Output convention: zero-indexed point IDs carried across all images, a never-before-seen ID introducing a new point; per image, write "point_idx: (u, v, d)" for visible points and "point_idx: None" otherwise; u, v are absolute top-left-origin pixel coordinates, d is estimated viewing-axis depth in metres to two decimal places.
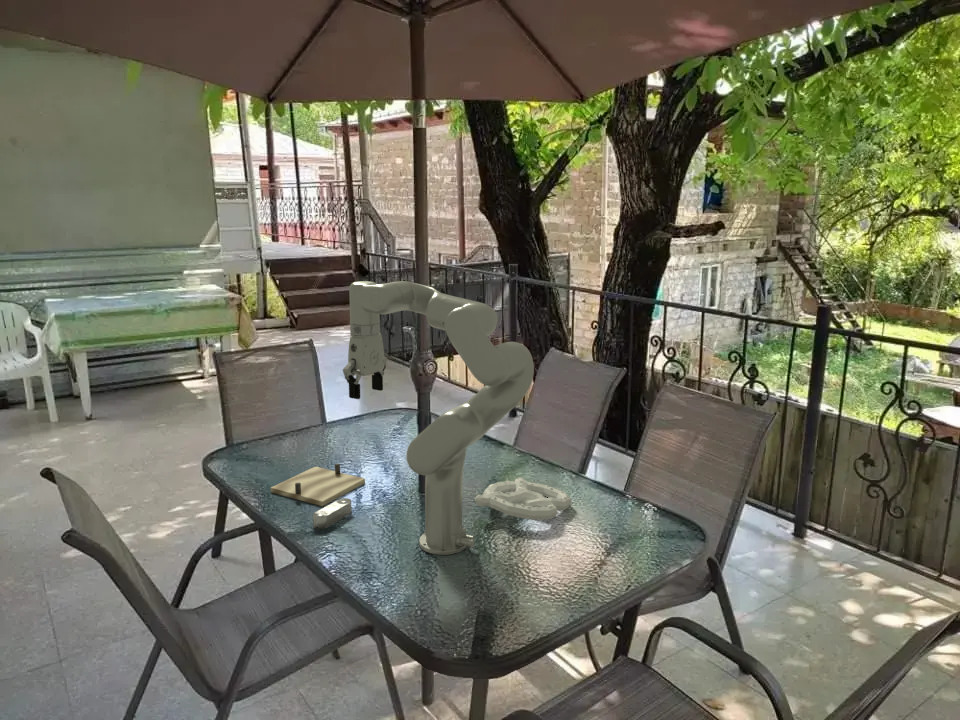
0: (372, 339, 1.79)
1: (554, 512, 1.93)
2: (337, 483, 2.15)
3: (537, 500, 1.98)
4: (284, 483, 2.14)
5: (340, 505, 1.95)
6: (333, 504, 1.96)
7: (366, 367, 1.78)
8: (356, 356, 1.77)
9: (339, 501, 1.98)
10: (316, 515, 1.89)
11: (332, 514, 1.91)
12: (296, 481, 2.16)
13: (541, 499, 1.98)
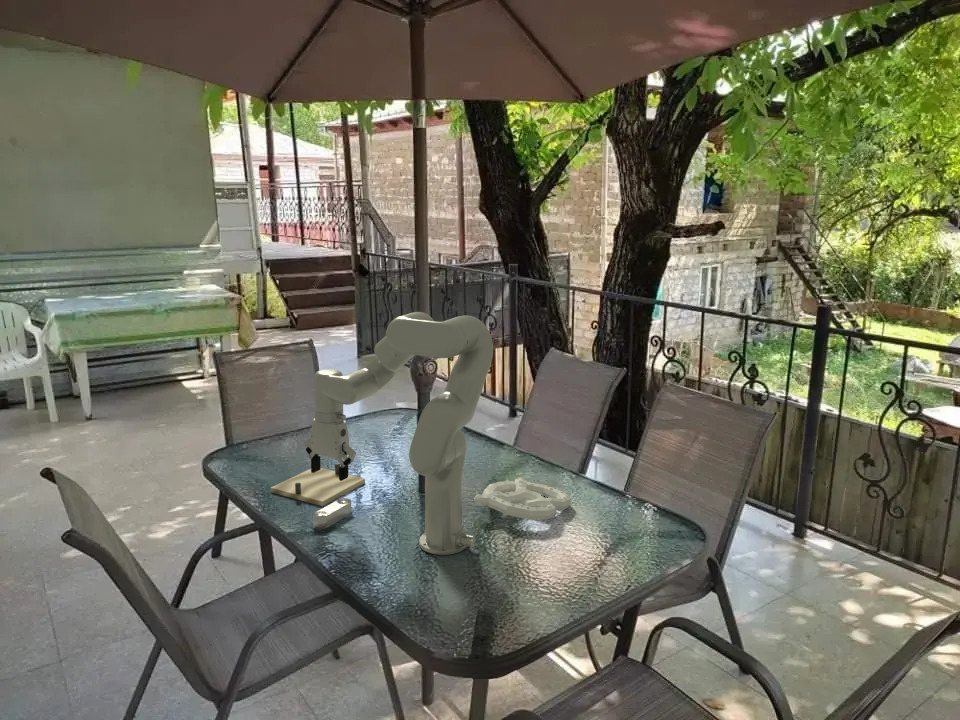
0: None
1: (553, 512, 1.92)
2: (337, 483, 2.15)
3: (536, 500, 1.98)
4: (284, 483, 2.14)
5: (340, 505, 1.95)
6: (333, 504, 1.96)
7: None
8: (346, 439, 1.88)
9: (339, 501, 1.98)
10: (316, 515, 1.89)
11: (332, 514, 1.91)
12: (296, 481, 2.16)
13: (540, 499, 1.98)
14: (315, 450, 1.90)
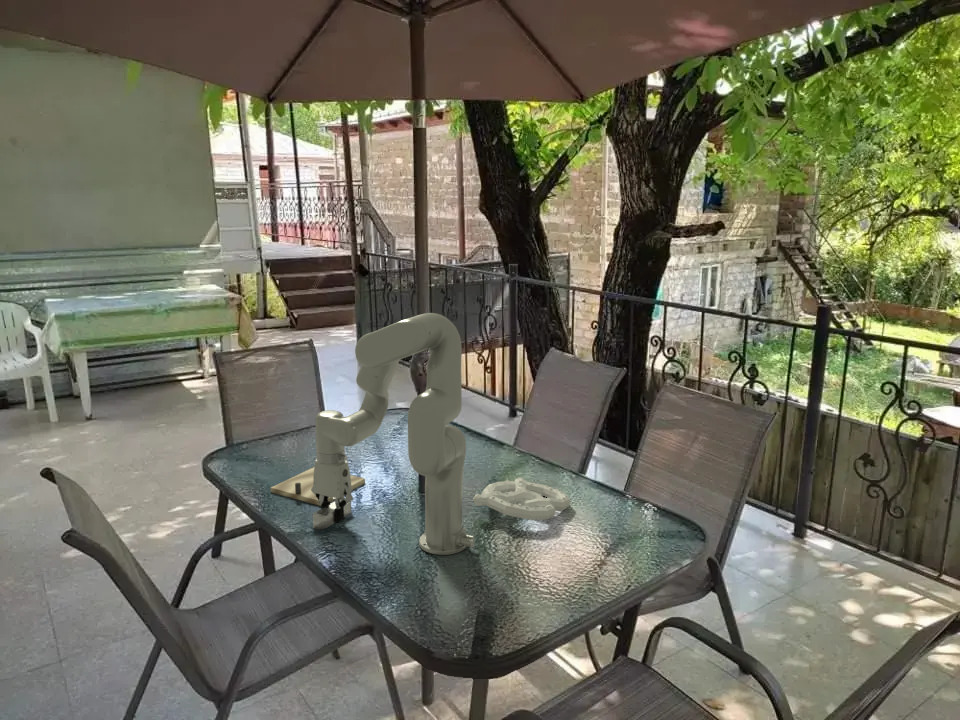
0: None
1: (552, 512, 1.92)
2: None
3: (535, 500, 1.98)
4: (284, 483, 2.14)
5: None
6: (333, 504, 1.96)
7: None
8: (348, 479, 1.90)
9: None
10: (316, 515, 1.89)
11: (332, 514, 1.91)
12: (296, 481, 2.16)
13: (539, 499, 1.98)
14: (318, 490, 1.92)
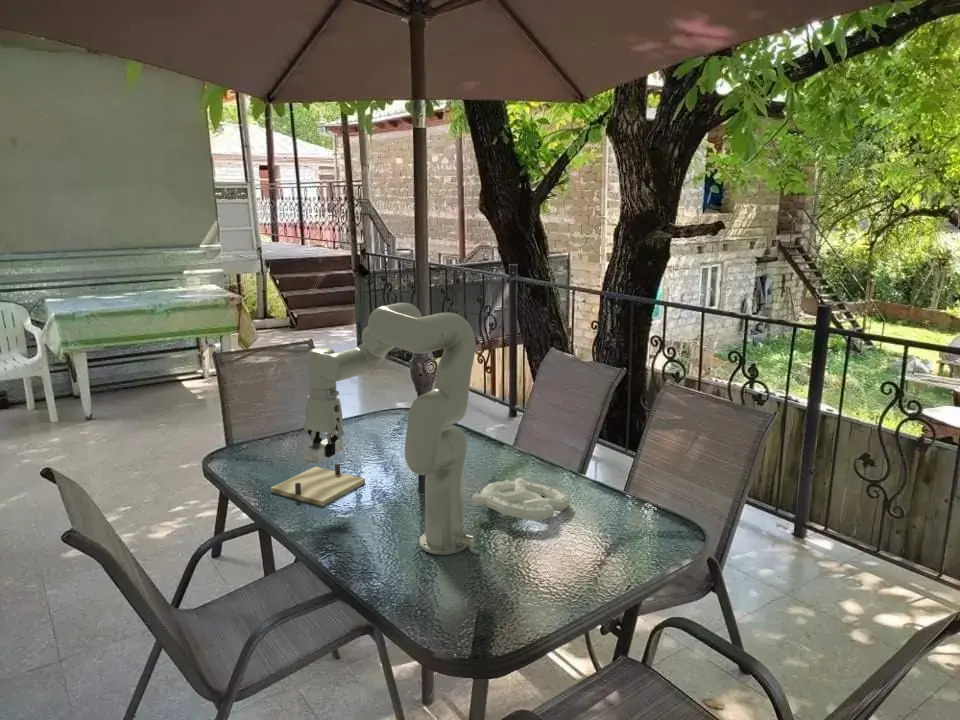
0: None
1: (550, 512, 1.92)
2: (337, 483, 2.15)
3: (534, 500, 1.98)
4: (284, 483, 2.14)
5: None
6: (324, 440, 2.01)
7: None
8: (339, 414, 1.95)
9: None
10: (308, 449, 1.94)
11: (324, 449, 1.96)
12: (296, 481, 2.16)
13: (538, 499, 1.98)
14: (310, 426, 1.97)
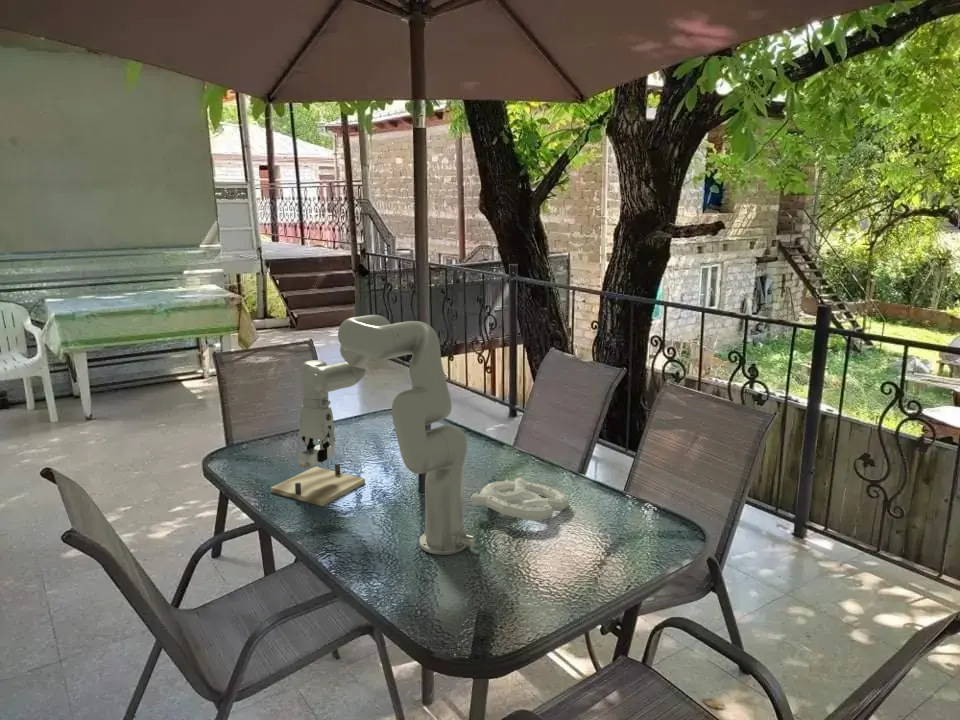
0: None
1: (549, 512, 1.92)
2: (337, 483, 2.15)
3: (533, 500, 1.98)
4: (284, 483, 2.14)
5: None
6: (317, 446, 2.15)
7: None
8: (331, 422, 2.09)
9: None
10: (301, 454, 2.08)
11: (316, 454, 2.10)
12: (296, 481, 2.16)
13: (537, 499, 1.97)
14: (304, 433, 2.11)
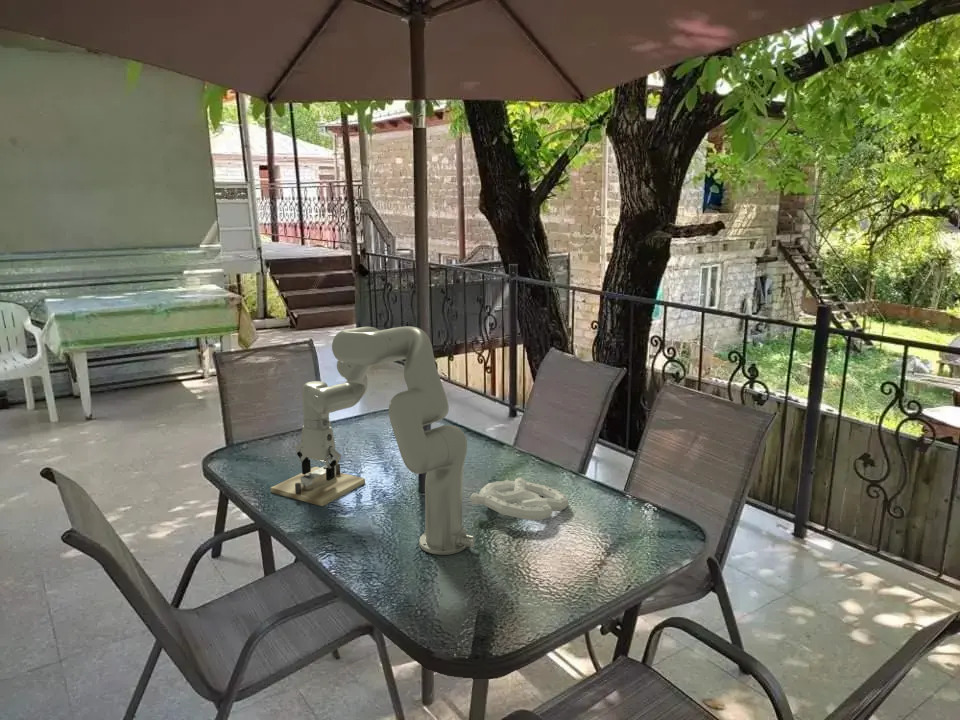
0: None
1: (548, 512, 1.92)
2: (337, 483, 2.15)
3: (533, 500, 1.98)
4: (284, 483, 2.14)
5: (325, 470, 2.16)
6: (319, 469, 2.16)
7: None
8: (332, 443, 2.11)
9: (325, 467, 2.18)
10: (303, 478, 2.09)
11: (318, 478, 2.11)
12: (296, 481, 2.16)
13: (537, 499, 1.97)
14: (305, 454, 2.13)
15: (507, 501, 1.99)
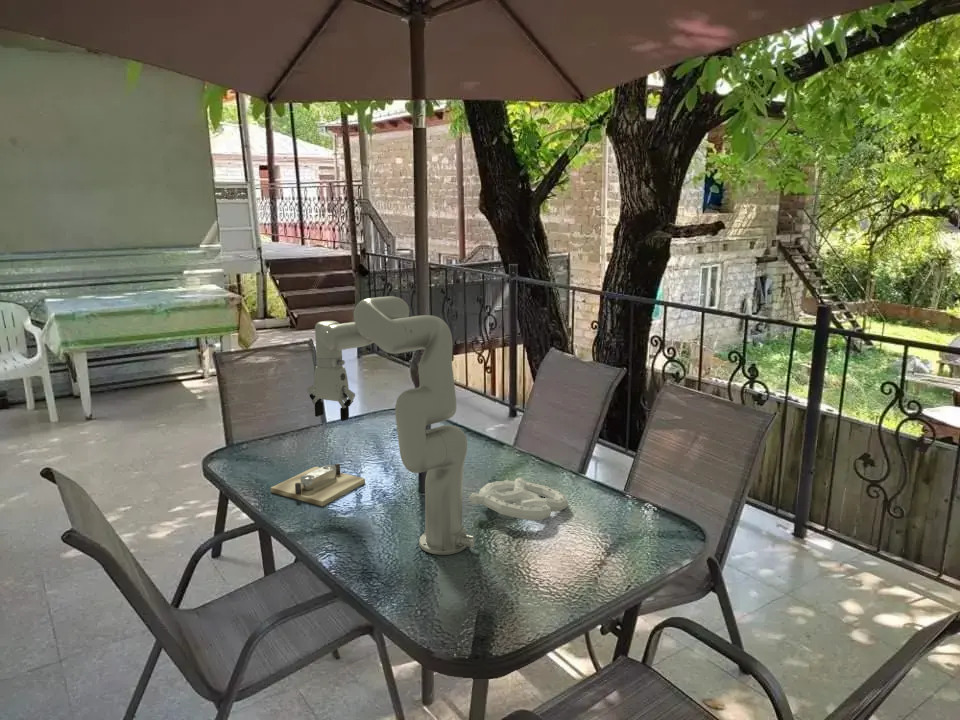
0: None
1: (547, 513, 1.92)
2: (337, 483, 2.15)
3: (532, 500, 1.98)
4: (284, 483, 2.14)
5: (325, 470, 2.16)
6: (319, 469, 2.16)
7: None
8: (345, 383, 2.09)
9: (325, 467, 2.18)
10: (303, 478, 2.09)
11: (318, 478, 2.11)
12: (296, 481, 2.16)
13: (536, 499, 1.97)
14: (318, 395, 2.11)
15: (506, 501, 1.99)
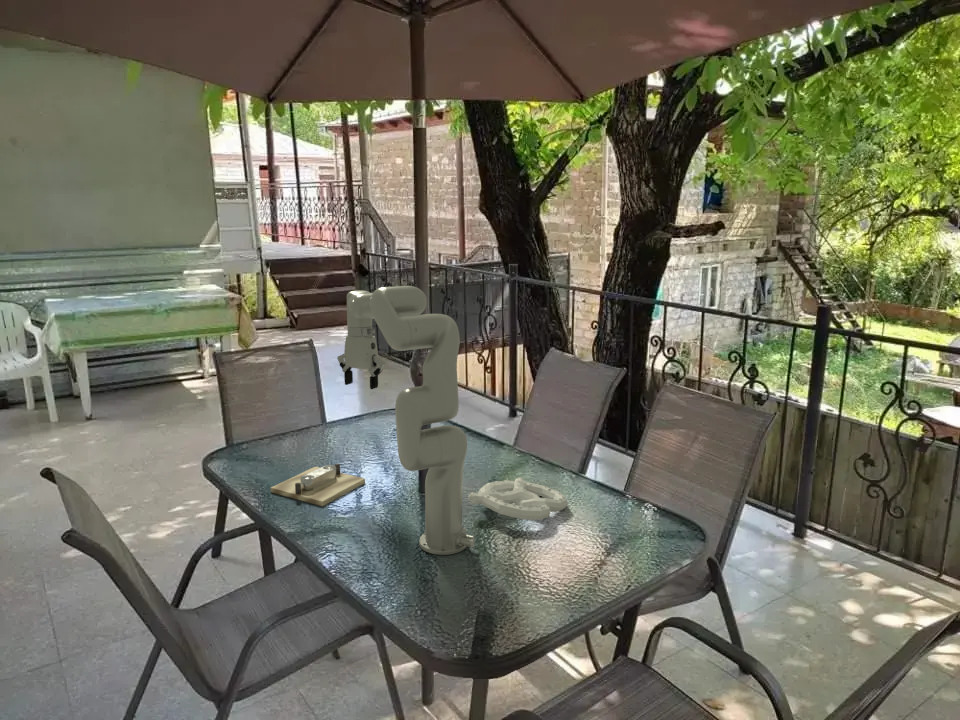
0: None
1: (546, 513, 1.92)
2: (337, 483, 2.15)
3: (531, 500, 1.98)
4: (284, 483, 2.14)
5: (325, 470, 2.16)
6: (319, 469, 2.16)
7: None
8: (375, 352, 2.13)
9: (325, 467, 2.18)
10: (303, 478, 2.09)
11: (318, 478, 2.11)
12: (296, 481, 2.16)
13: (535, 499, 1.97)
14: (348, 363, 2.15)
15: (506, 501, 1.99)
